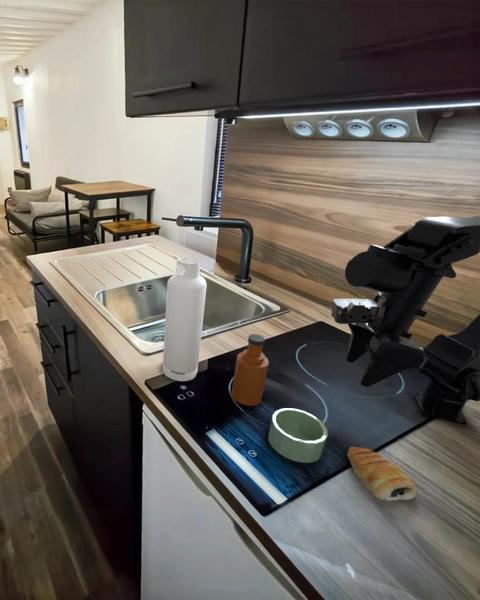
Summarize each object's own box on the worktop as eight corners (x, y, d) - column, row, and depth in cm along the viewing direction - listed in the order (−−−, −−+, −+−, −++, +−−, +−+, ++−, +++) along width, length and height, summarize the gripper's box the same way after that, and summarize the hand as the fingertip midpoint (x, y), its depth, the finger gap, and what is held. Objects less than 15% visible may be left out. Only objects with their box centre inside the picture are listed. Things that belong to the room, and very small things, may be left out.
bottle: (156, 365, 89) (161, 257, 78) (183, 358, 92) (193, 251, 80) (175, 384, 83) (183, 269, 71) (204, 375, 85) (217, 262, 73)
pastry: (333, 456, 63) (339, 439, 61) (370, 452, 63) (376, 435, 62) (378, 506, 55) (386, 488, 53) (420, 501, 55) (429, 483, 53)
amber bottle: (239, 386, 81) (249, 327, 75) (265, 398, 77) (278, 337, 71) (225, 397, 78) (234, 337, 71) (252, 411, 74) (264, 349, 67)
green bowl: (268, 423, 71) (273, 403, 69) (319, 437, 67) (326, 416, 65) (266, 454, 64) (270, 433, 62) (322, 472, 60) (329, 450, 58)
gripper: (336, 268, 70) (300, 337, 76) (367, 296, 54) (318, 380, 60) (402, 287, 67) (359, 357, 73) (456, 322, 51) (395, 408, 57)
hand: (356, 373), depth 66 cm, fingers open, 9 cm apart
